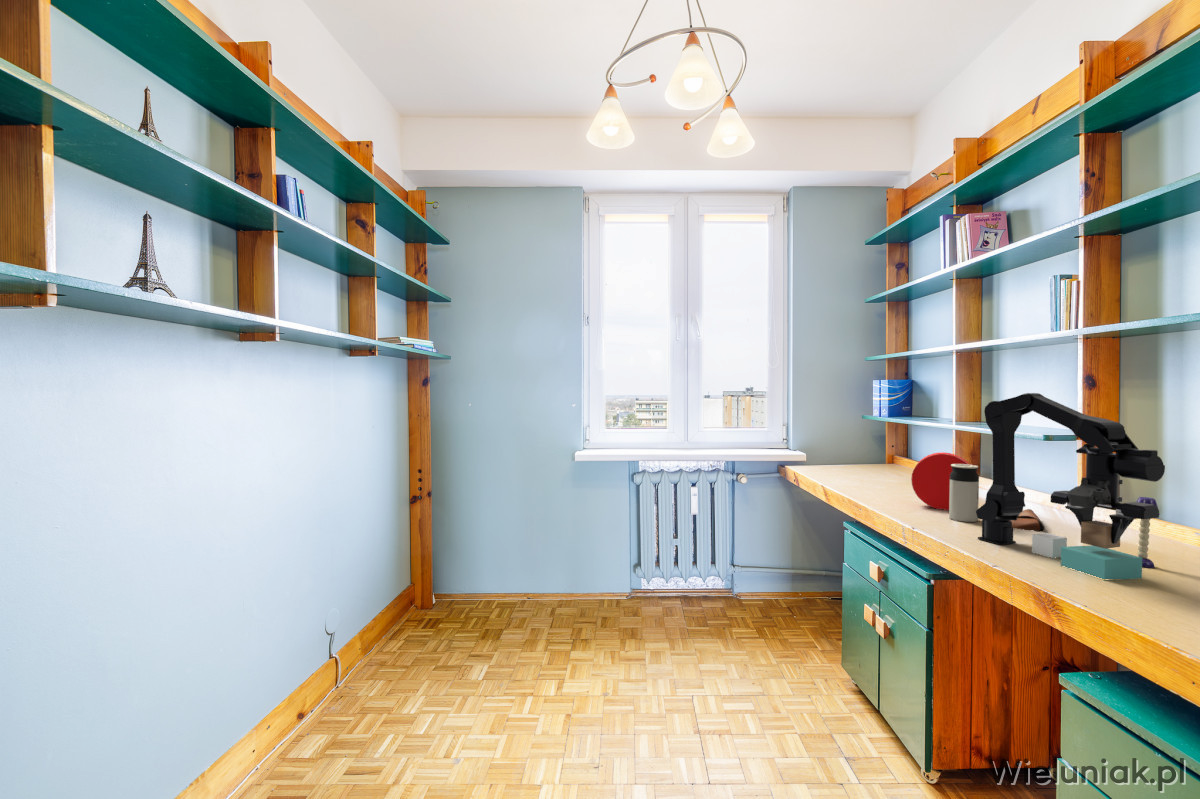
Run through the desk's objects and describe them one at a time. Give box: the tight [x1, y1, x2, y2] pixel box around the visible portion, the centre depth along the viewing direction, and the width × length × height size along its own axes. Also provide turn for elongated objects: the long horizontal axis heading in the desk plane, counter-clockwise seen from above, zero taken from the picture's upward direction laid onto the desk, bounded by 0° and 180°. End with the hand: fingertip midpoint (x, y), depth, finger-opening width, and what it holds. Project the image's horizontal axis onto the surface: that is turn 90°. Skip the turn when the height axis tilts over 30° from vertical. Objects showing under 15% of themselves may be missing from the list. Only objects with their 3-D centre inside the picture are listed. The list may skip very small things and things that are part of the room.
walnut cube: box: [1080, 520, 1121, 549], centre depth 128 cm, size 5×5×5 cm
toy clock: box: [910, 452, 971, 511], centre depth 196 cm, size 20×6×20 cm, turn 56°
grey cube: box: [1031, 532, 1068, 559], centre depth 141 cm, size 5×5×5 cm
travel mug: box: [948, 464, 980, 523], centre depth 179 cm, size 8×8×18 cm
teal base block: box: [1060, 545, 1143, 580], centre depth 128 cm, size 10×10×5 cm
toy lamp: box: [1136, 496, 1160, 569], centre depth 133 cm, size 5×5×17 cm
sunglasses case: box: [1011, 508, 1045, 532], centre depth 173 cm, size 18×7×7 cm
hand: (1100, 540), depth 128 cm, fingers closed on walnut cube, 5 cm apart
